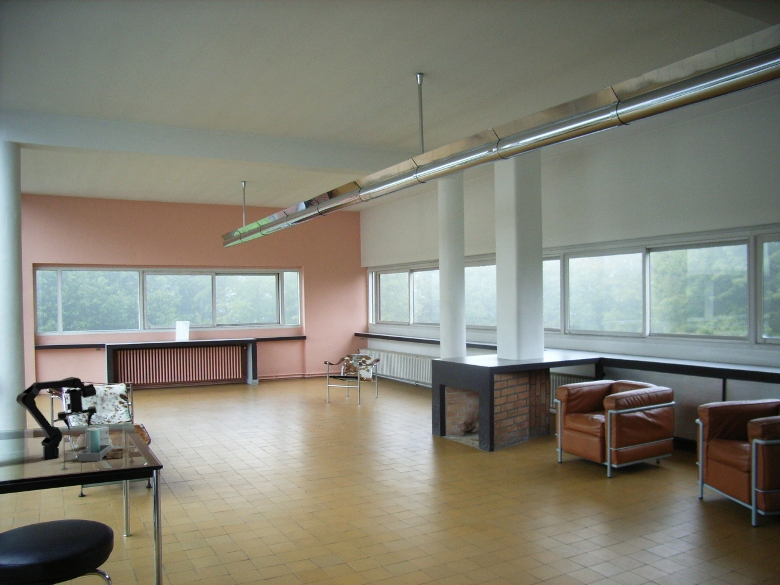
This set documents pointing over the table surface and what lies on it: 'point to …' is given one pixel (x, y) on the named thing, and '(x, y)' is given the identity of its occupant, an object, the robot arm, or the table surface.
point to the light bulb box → (103, 435)
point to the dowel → (95, 441)
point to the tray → (89, 456)
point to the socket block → (117, 452)
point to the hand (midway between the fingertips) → (78, 428)
